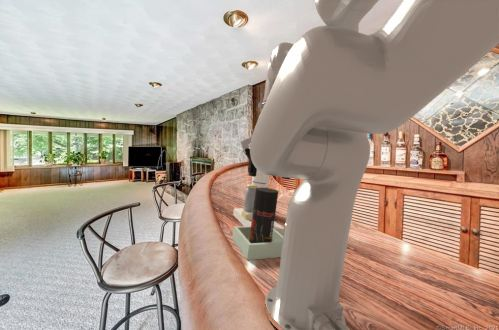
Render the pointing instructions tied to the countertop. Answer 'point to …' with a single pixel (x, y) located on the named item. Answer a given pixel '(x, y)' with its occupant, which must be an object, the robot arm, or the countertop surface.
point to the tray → (257, 244)
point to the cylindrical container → (260, 180)
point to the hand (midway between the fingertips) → (269, 177)
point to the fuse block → (251, 209)
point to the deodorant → (263, 215)
